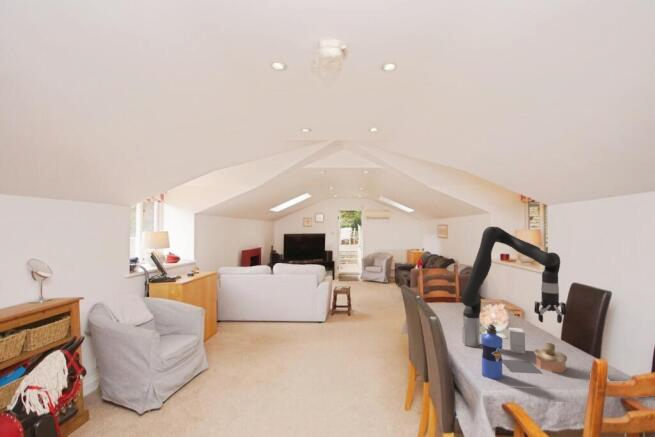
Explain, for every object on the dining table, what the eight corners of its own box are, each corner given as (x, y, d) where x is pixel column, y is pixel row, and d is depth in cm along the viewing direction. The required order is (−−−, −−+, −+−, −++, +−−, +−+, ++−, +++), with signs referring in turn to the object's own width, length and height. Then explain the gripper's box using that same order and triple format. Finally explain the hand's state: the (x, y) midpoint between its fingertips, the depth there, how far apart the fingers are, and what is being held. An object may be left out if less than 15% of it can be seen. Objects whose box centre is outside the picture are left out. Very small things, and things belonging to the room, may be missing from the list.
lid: (542, 361, 165) (542, 349, 165) (529, 350, 179) (529, 339, 179) (573, 362, 163) (572, 350, 163) (557, 351, 177) (557, 340, 177)
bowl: (544, 372, 166) (543, 360, 166) (532, 362, 178) (532, 351, 178) (569, 373, 165) (569, 361, 165) (556, 363, 176) (556, 352, 176)
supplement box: (522, 349, 195) (522, 328, 196) (525, 354, 188) (525, 332, 188) (508, 348, 198) (508, 327, 198) (510, 352, 191) (510, 331, 191)
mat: (510, 372, 166) (510, 371, 166) (499, 360, 181) (499, 359, 181) (543, 374, 164) (543, 373, 164) (529, 361, 179) (529, 360, 179)
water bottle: (477, 373, 165) (477, 323, 166) (490, 370, 169) (490, 321, 169) (493, 381, 157) (492, 329, 157) (507, 378, 161) (506, 326, 161)
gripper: (538, 292, 169) (538, 324, 169) (569, 293, 167) (569, 325, 167) (531, 289, 176) (531, 319, 176) (560, 290, 174) (561, 320, 174)
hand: (550, 322), depth 171 cm, fingers open, 8 cm apart
